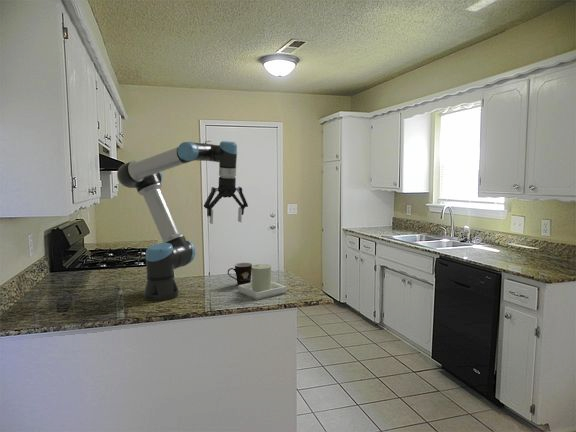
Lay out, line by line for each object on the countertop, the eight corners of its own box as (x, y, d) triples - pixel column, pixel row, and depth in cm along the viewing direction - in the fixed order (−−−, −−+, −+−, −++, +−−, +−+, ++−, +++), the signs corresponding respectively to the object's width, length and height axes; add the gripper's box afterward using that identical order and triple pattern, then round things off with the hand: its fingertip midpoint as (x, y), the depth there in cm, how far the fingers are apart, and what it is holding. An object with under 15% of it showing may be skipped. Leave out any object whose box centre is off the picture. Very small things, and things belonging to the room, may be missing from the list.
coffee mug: (254, 282, 207) (253, 262, 205) (250, 287, 198) (250, 266, 197) (231, 281, 208) (231, 262, 207) (227, 286, 199) (226, 266, 198)
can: (260, 286, 195) (260, 262, 194) (275, 289, 190) (275, 264, 188) (247, 291, 188) (247, 266, 186) (263, 294, 182) (262, 268, 181)
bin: (256, 300, 178) (256, 293, 178) (238, 291, 191) (238, 285, 190) (286, 293, 187) (286, 286, 187) (267, 285, 200) (266, 279, 200)
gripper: (201, 178, 173) (200, 226, 179) (256, 178, 184) (253, 223, 190) (197, 175, 180) (196, 221, 185) (250, 175, 191) (248, 218, 196)
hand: (225, 222), depth 188 cm, fingers open, 13 cm apart
